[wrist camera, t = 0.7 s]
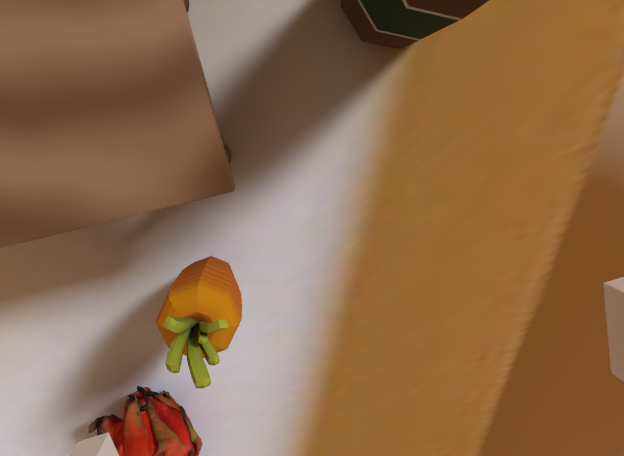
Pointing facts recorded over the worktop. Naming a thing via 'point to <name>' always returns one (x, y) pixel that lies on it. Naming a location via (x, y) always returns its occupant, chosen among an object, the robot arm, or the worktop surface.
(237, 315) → the carrot
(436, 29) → the beer bottle
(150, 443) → the dragon fruit
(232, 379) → the worktop surface
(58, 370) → the worktop surface
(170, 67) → the walnut stool
